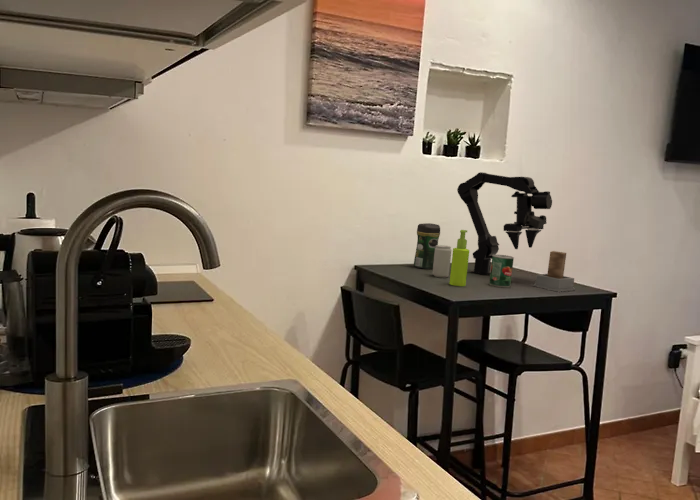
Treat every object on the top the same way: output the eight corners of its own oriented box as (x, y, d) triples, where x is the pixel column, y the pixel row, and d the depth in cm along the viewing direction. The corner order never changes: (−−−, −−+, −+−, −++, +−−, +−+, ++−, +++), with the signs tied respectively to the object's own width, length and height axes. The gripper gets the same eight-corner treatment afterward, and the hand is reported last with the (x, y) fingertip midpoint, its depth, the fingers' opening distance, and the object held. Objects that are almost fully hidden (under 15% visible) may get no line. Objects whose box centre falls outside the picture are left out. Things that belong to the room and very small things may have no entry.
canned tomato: (509, 288, 236) (513, 258, 234) (488, 285, 238) (491, 256, 236) (510, 284, 243) (514, 256, 242) (489, 282, 245) (493, 253, 244)
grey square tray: (558, 291, 237) (560, 279, 236) (533, 285, 245) (534, 274, 244) (574, 290, 244) (576, 278, 243) (549, 284, 252) (551, 273, 251)
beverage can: (449, 278, 245) (453, 247, 244) (433, 277, 245) (436, 246, 244) (447, 275, 252) (450, 245, 250) (431, 274, 252) (434, 244, 250)
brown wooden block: (545, 285, 244) (550, 251, 242) (548, 284, 247) (553, 250, 245) (559, 287, 241) (563, 253, 239) (561, 286, 244) (566, 252, 243)
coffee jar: (427, 265, 273) (432, 222, 271) (439, 269, 267) (444, 224, 264) (410, 266, 268) (414, 222, 265) (422, 269, 261) (426, 224, 259)
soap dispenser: (467, 284, 236) (473, 230, 234) (464, 287, 230) (470, 231, 227) (451, 281, 238) (457, 228, 236) (447, 284, 232) (453, 230, 229)
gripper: (527, 210, 239) (526, 251, 241) (555, 208, 251) (554, 248, 253) (502, 209, 248) (502, 249, 250) (531, 208, 260) (530, 246, 261)
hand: (523, 248), depth 253 cm, fingers open, 9 cm apart
